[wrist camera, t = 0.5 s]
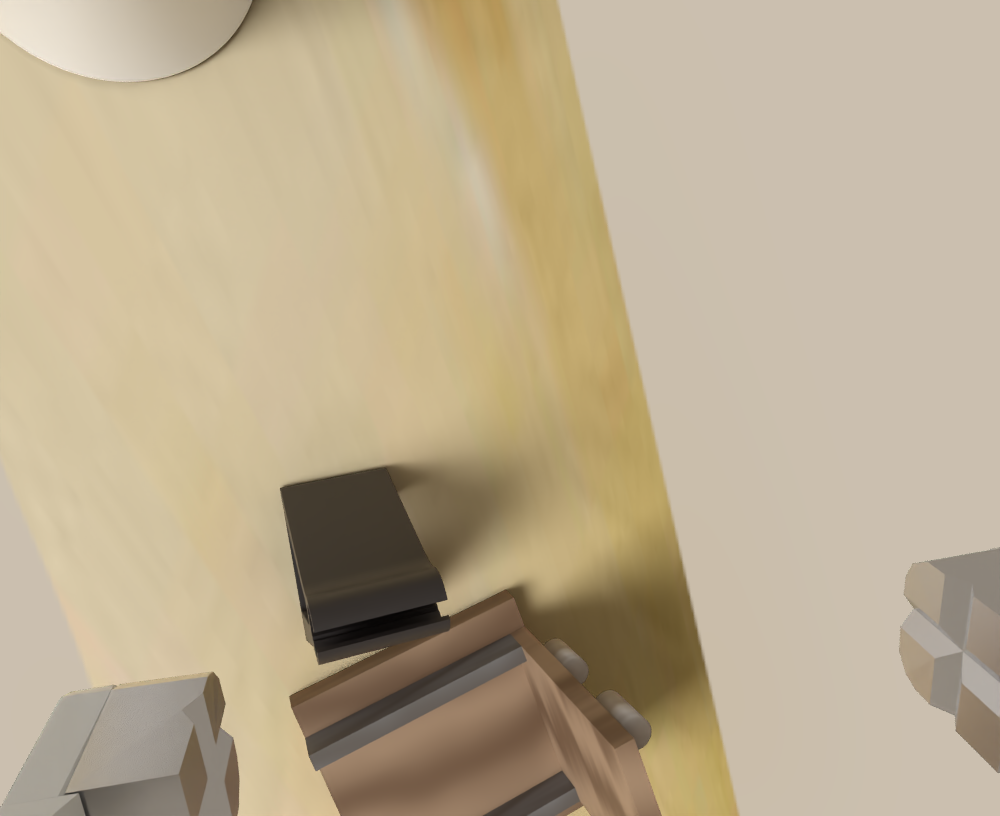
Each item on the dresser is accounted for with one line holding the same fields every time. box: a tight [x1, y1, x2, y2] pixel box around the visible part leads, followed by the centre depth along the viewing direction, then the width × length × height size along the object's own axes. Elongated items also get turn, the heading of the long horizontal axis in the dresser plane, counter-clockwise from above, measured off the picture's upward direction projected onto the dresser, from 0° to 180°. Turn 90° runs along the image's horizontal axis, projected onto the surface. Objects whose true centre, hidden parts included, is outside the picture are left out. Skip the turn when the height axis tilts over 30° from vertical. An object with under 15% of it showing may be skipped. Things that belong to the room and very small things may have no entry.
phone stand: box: [280, 468, 450, 665], centre depth 42 cm, size 9×6×12 cm, turn 6°
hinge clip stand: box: [289, 590, 662, 816], centre depth 43 cm, size 15×15×16 cm
